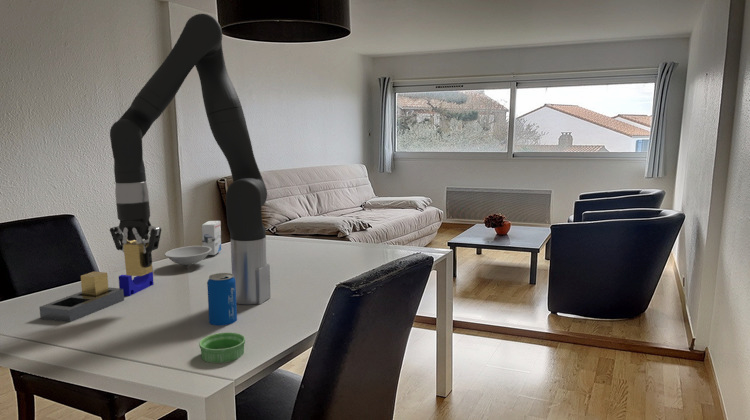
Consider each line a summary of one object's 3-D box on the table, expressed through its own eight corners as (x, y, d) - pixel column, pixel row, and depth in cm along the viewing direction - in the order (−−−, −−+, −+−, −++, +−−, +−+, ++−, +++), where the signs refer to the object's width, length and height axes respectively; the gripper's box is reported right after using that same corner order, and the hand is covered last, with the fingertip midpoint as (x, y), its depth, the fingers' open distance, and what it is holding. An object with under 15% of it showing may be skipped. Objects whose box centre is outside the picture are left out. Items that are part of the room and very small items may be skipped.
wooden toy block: (152, 271, 137) (150, 241, 136) (141, 276, 132) (138, 244, 131) (138, 270, 138) (135, 240, 137) (126, 275, 134) (123, 244, 132)
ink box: (209, 250, 206) (208, 220, 205) (222, 250, 206) (221, 220, 205) (202, 255, 198) (200, 224, 196) (215, 255, 198) (214, 224, 196)
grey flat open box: (124, 301, 144) (123, 288, 144) (70, 324, 127) (69, 310, 127) (97, 298, 147) (96, 286, 146) (40, 320, 130) (39, 306, 129)
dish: (193, 273, 173) (192, 258, 172) (155, 270, 177) (154, 255, 176) (221, 260, 190) (220, 246, 189) (185, 258, 193) (185, 244, 193)
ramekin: (190, 366, 105) (189, 345, 104) (219, 349, 113) (218, 329, 112) (228, 374, 102) (227, 352, 101) (254, 355, 110) (254, 335, 109)
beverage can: (222, 331, 123) (220, 281, 121) (203, 325, 126) (201, 277, 125) (242, 322, 128) (241, 274, 127) (224, 317, 132) (222, 271, 130)
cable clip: (140, 284, 161) (138, 265, 160) (153, 285, 160) (152, 265, 159) (115, 296, 149) (113, 275, 148) (129, 297, 149) (128, 276, 148)
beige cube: (109, 301, 142) (107, 272, 141) (96, 306, 138) (94, 277, 137) (95, 300, 143) (93, 271, 142) (83, 305, 139) (80, 275, 138)
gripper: (166, 198, 134) (172, 264, 137) (119, 198, 138) (125, 262, 140) (147, 202, 127) (153, 271, 130) (97, 202, 131) (104, 269, 133)
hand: (138, 266), depth 135 cm, fingers closed on wooden toy block, 4 cm apart
